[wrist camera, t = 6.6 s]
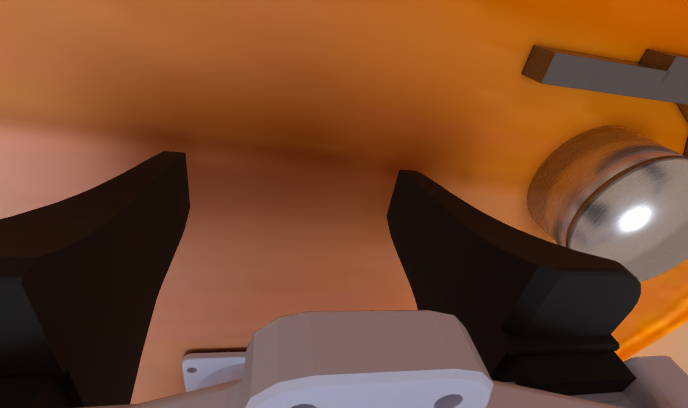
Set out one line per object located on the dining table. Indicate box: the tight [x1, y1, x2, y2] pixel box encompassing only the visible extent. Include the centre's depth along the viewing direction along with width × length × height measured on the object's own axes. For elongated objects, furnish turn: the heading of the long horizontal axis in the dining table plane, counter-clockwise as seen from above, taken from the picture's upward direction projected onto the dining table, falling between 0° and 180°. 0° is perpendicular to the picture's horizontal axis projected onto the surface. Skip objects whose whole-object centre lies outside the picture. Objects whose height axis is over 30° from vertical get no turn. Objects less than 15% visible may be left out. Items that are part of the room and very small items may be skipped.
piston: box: [527, 126, 688, 282], centre depth 15 cm, size 6×6×4 cm
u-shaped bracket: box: [522, 45, 688, 158], centre depth 16 cm, size 12×12×1 cm
